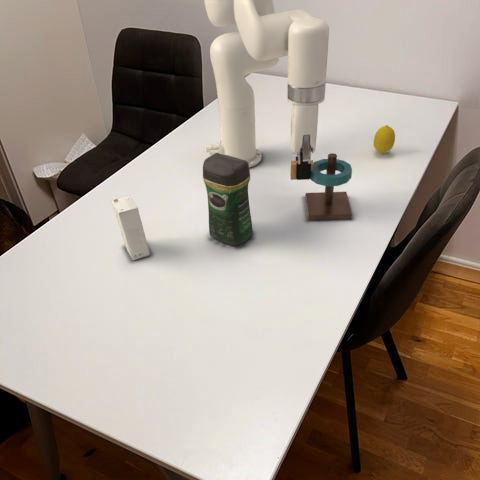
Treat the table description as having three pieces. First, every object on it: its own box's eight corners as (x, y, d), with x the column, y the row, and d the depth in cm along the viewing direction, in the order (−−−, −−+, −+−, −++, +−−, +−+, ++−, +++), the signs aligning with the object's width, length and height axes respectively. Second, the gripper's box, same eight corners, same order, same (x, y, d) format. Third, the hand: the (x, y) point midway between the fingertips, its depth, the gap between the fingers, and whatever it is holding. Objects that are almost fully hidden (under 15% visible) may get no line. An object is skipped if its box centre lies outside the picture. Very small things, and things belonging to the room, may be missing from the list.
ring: (291, 187, 104) (292, 172, 102) (289, 168, 111) (289, 153, 108) (353, 185, 104) (355, 170, 101) (347, 165, 110) (349, 151, 108)
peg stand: (308, 220, 110) (311, 167, 101) (305, 198, 117) (308, 146, 108) (351, 219, 110) (358, 165, 100) (345, 196, 117) (352, 144, 107)
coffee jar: (258, 233, 108) (256, 156, 94) (237, 251, 103) (232, 173, 90) (225, 220, 112) (218, 145, 99) (204, 237, 108) (194, 160, 94)
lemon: (390, 149, 133) (395, 121, 127) (393, 158, 129) (398, 129, 124) (370, 149, 134) (375, 121, 128) (372, 158, 130) (377, 130, 124)
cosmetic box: (151, 255, 104) (140, 207, 95) (131, 261, 103) (118, 213, 94) (142, 240, 108) (131, 193, 99) (123, 246, 107) (110, 199, 98)
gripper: (285, 79, 100) (284, 160, 113) (289, 107, 89) (287, 194, 102) (321, 77, 100) (316, 159, 113) (329, 105, 89) (322, 193, 102)
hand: (302, 175), depth 107 cm, fingers closed on ring, 2 cm apart
